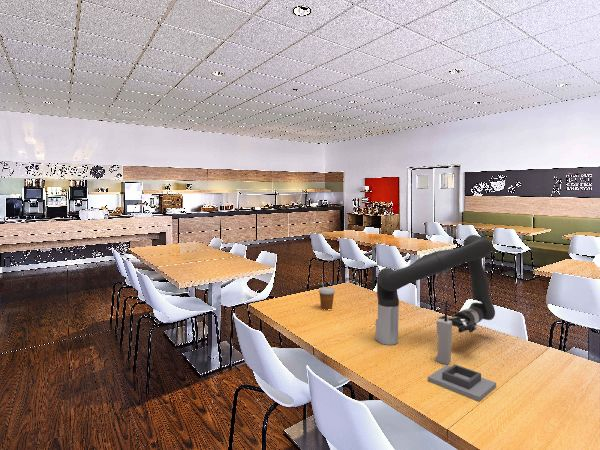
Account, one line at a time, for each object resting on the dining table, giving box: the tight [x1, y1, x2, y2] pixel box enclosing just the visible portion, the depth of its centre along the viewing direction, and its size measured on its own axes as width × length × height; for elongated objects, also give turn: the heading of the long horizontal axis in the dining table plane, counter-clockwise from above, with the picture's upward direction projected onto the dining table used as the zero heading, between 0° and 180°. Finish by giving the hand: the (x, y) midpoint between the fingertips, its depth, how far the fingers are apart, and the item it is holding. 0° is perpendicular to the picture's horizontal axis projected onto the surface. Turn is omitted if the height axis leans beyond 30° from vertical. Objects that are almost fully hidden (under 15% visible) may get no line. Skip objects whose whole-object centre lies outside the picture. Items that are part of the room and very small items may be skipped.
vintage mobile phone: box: [434, 300, 453, 365], centre depth 148 cm, size 4×5×25 cm
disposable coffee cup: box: [318, 286, 336, 311], centre depth 217 cm, size 10×10×12 cm
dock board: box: [427, 363, 497, 402], centre depth 131 cm, size 18×14×4 cm
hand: (448, 327), depth 151 cm, fingers open, 8 cm apart
